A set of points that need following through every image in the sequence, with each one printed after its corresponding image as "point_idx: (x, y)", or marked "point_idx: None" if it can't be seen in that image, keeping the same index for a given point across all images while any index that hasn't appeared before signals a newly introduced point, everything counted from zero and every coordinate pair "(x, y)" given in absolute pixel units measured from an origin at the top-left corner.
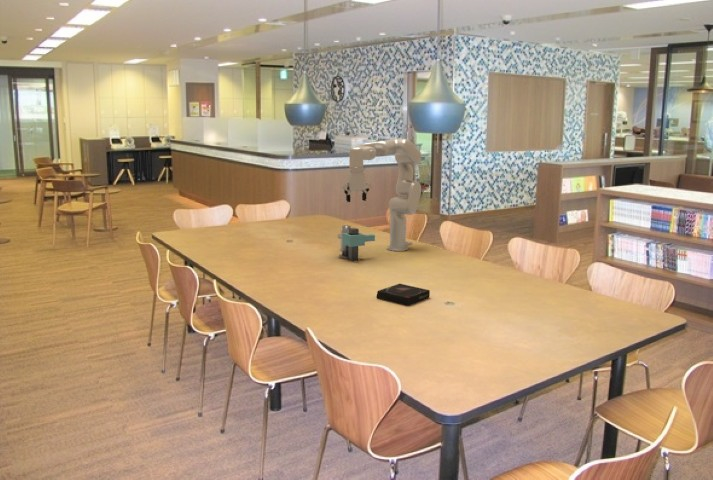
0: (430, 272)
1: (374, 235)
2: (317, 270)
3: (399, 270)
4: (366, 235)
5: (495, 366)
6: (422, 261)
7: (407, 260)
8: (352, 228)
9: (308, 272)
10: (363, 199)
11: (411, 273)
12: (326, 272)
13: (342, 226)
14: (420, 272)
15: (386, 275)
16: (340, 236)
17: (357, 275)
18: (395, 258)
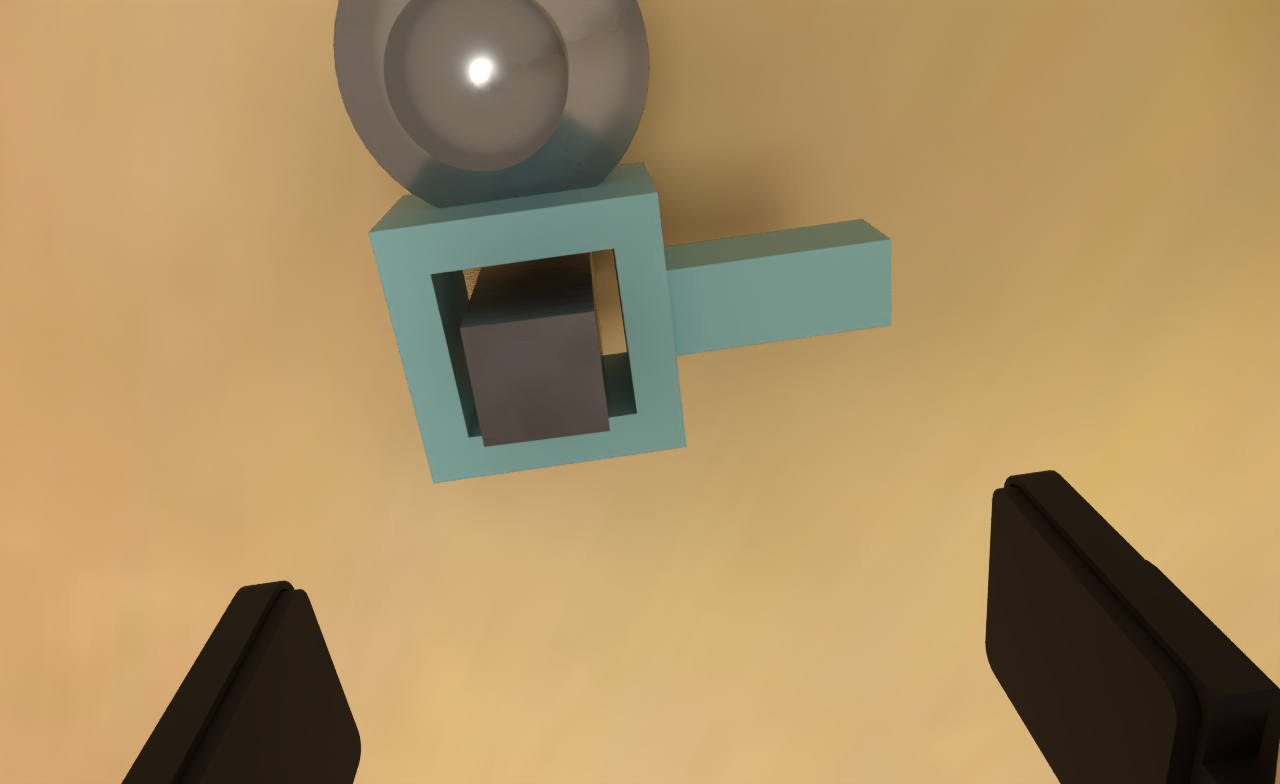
0: (987, 753)
1: (882, 325)
2: (100, 526)
3: (805, 667)
4: (760, 313)
5: None
6: (1169, 453)
7: (1072, 384)
8: (517, 367)
9: (9, 570)
10: (1005, 600)
11: (844, 751)
12: (181, 602)
13: (385, 81)
14: (921, 741)
15: (643, 762)
16: (368, 134)
17: (426, 725)
18: (1017, 274)
